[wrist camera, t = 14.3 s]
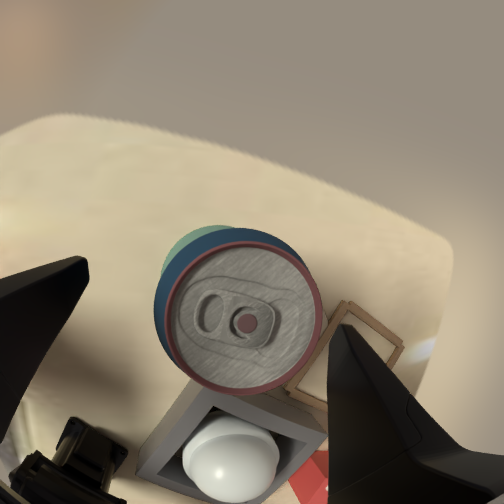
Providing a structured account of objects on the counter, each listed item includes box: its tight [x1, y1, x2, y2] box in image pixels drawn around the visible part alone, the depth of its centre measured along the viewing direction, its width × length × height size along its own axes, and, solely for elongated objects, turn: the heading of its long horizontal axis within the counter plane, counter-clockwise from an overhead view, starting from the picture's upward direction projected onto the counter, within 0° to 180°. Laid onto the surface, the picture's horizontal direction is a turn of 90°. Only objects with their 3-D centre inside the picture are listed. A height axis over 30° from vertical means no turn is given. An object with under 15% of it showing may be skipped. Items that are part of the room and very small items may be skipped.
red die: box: [288, 451, 329, 504], centre depth 21 cm, size 5×5×6 cm
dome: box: [182, 410, 279, 503], centre depth 17 cm, size 8×8×7 cm
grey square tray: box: [135, 378, 328, 504], centre depth 19 cm, size 12×12×4 cm
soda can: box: [154, 228, 323, 396], centre depth 15 cm, size 7×7×12 cm
